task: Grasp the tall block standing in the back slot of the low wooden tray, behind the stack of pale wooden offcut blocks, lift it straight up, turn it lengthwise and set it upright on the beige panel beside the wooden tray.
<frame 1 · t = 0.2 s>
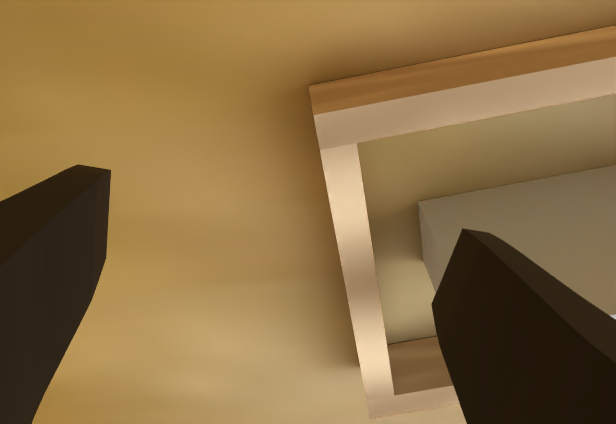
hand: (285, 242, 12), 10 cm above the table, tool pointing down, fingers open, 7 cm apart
tall block: (528, 212, 24), resting in wooden tray
wooden tray: (596, 200, 23), on the table
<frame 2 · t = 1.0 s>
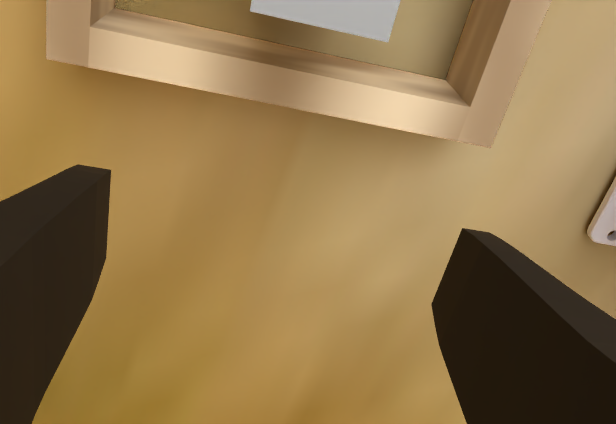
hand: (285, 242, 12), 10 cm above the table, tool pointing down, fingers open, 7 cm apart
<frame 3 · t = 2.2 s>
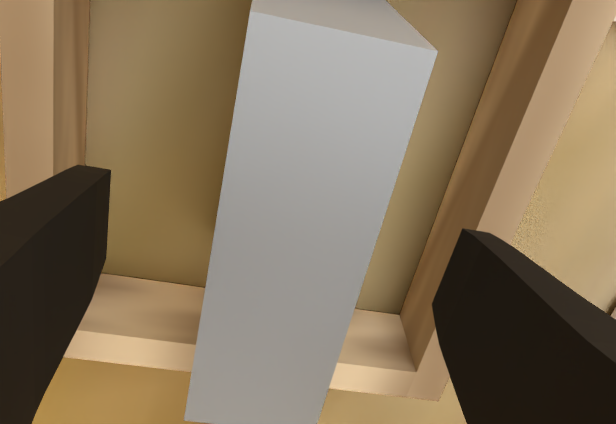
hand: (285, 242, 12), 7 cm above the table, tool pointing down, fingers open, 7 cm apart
tall block: (282, 120, 18), resting in wooden tray
wooden tray: (301, 31, 16), on the table
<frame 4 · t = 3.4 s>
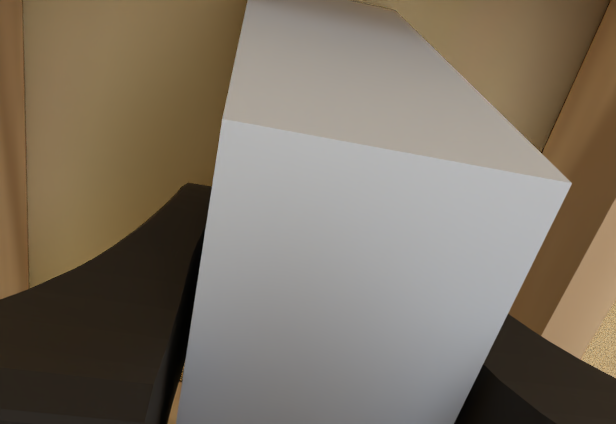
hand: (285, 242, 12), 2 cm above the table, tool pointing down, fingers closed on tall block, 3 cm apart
tall block: (282, 188, 14), resting in wooden tray, touching gripper
wooden tray: (308, 76, 12), on the table
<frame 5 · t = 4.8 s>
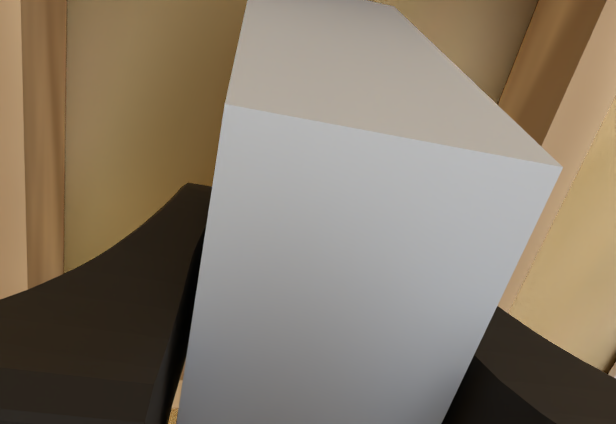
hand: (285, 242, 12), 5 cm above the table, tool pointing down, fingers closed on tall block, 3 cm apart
tall block: (283, 182, 14), point 3 cm above the table, touching gripper
wooden tray: (299, 41, 15), on the table
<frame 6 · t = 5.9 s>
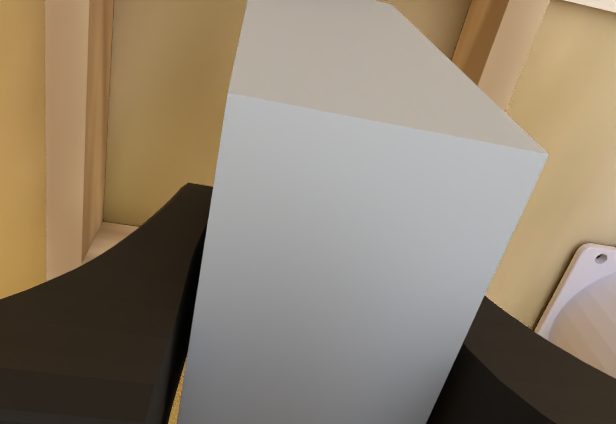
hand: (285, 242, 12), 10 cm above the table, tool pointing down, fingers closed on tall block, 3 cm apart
tall block: (282, 177, 14), point 7 cm above the table, touching gripper
wooden tray: (294, 8, 19), on the table
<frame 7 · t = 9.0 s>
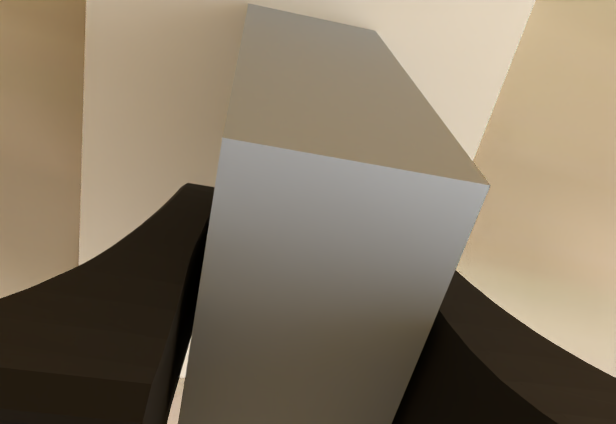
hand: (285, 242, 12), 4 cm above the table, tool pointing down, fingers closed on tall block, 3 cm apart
tall block: (276, 188, 15), resting on beige panel, touching gripper
beige panel: (280, 158, 15), on the table
when the fingers open (4 cm above the table, at t = 9.4 s): tall block stays where it is, resting on beige panel.
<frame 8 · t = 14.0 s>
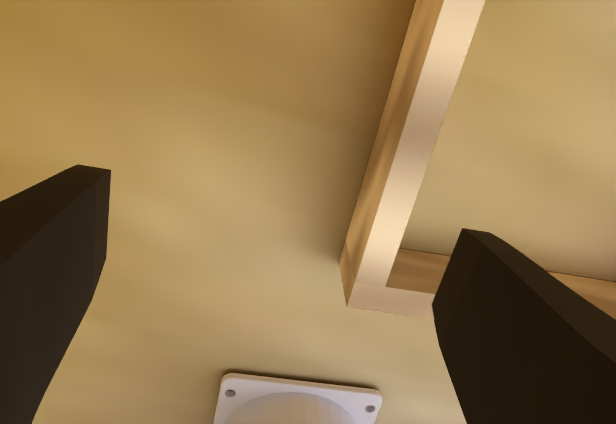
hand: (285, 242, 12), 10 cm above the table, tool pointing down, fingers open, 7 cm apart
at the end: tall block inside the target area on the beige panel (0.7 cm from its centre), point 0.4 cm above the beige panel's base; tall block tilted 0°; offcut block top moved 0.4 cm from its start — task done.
